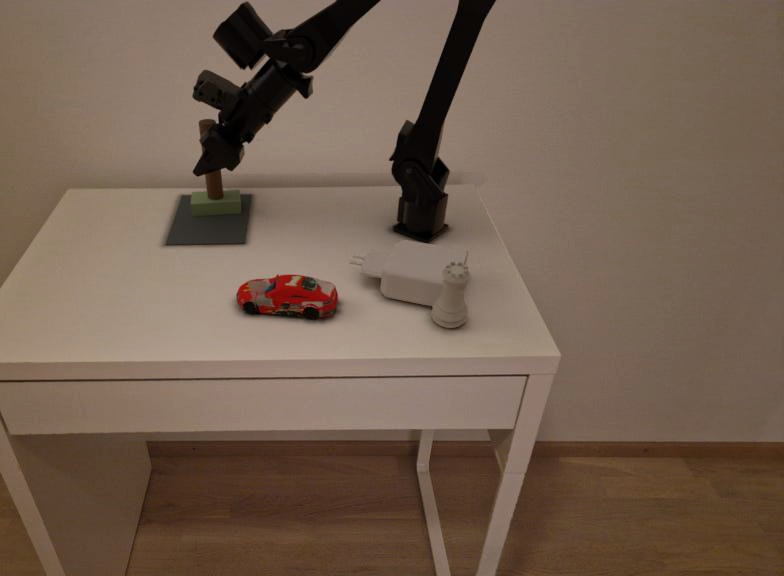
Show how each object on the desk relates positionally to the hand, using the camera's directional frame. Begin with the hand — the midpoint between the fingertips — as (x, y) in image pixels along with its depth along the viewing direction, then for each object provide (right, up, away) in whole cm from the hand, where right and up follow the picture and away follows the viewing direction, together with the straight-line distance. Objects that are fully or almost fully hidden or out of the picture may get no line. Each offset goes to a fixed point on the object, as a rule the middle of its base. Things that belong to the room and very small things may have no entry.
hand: (200, 165), depth 95 cm
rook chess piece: (+35, -26, -20) cm, 48 cm away
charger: (+30, -21, -14) cm, 39 cm away
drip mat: (+1, -8, +1) cm, 8 cm away
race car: (+14, -24, -18) cm, 33 cm away
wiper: (+2, -6, +4) cm, 7 cm away
